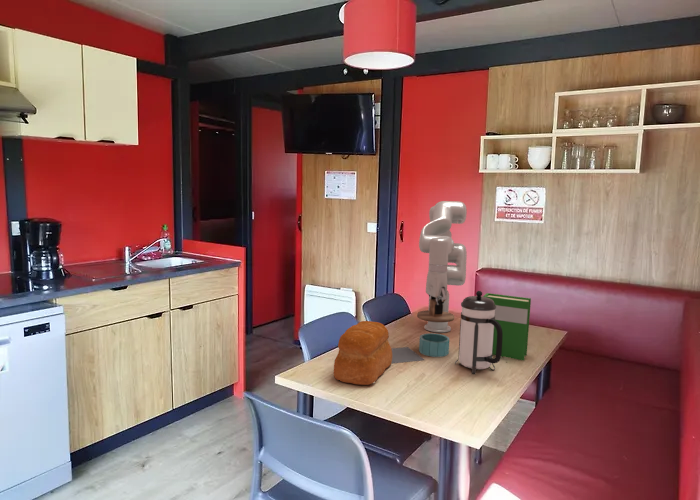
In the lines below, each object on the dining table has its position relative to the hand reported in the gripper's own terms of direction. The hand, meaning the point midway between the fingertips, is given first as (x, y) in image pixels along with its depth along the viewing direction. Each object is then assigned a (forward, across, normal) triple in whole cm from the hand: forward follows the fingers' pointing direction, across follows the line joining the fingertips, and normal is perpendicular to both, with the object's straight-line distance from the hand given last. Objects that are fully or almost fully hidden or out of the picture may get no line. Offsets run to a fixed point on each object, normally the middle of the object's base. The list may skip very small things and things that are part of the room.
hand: (435, 312), depth 197 cm
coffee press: (+18, +20, +8) cm, 28 cm away
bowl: (+17, 0, 0) cm, 17 cm away
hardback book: (+18, +8, +28) cm, 34 cm away
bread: (+17, +12, -35) cm, 41 cm away
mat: (+17, 0, -16) cm, 24 cm away
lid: (+2, 0, 0) cm, 2 cm away
